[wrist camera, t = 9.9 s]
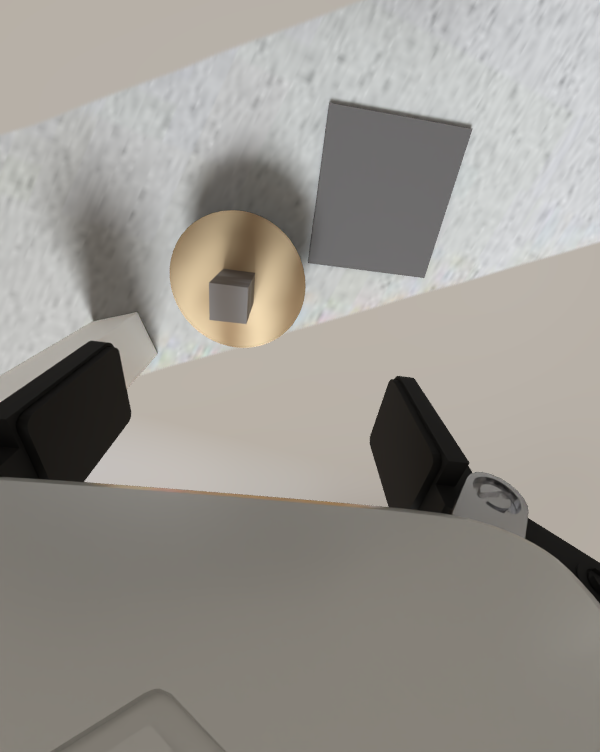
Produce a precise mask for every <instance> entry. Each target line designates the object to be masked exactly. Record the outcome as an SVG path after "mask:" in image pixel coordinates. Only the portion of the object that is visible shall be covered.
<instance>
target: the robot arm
mask: <svg viewBox="0 0 600 752" xmlns="http://www.w3.org/2000/svg"><path fill="white" fill-rule="evenodd" d="M130 417H131V409H130V404H129V399H128V394H127V389H126V383H125V378H124V373H123V368H122V363H121V358H120V353H119V350H118V349H117V348H115V347H114V346H113V344H112V343H109V342H100V341H89V342H87V343H86V344H84V345H83V346H81V347H80V348H78V349H77V350H76V351H74V352H73V353H71V354H70V355H68V356H67V357H65V358H64V359H62V360H61V361H60V362H58V363H57V364H55V365H54V366H52V367H51V368H49V369H48V370H46V371H45V372H44V373H42V374H41V375H39V376H38V377H36V378H35V379H33V380H32V381H30V382H29V383H28V384H26V385H25V386H23V387H22V388H20V389H19V390H17V391H16V392H14V393H13V394H12V395H10V396H9V397H7V398H6V399H4V400H3V401H1V402H0V752H600V563H599V562H598V561H596V560H594V559H593V558H591V557H590V556H588V555H586V554H585V553H583V552H581V551H580V550H578V549H577V548H575V547H574V546H572V545H570V544H569V543H567V542H566V541H564V540H562V539H561V538H559V537H557V536H556V535H554V534H553V533H551V532H550V531H548V530H546V529H545V528H543V527H542V526H540V525H538V524H537V523H535V522H534V521H532V520H530V519H529V518H528V506H527V504H526V502H525V500H524V498H523V497H522V496H521V494H520V493H519V492H518V491H517V490H516V489H515V488H514V487H512V486H511V485H510V484H509V483H507V482H505V481H504V480H502V479H501V478H499V477H496V476H494V475H491V474H488V473H483V472H475V473H472V471H471V470H470V468H469V466H468V465H469V461H468V460H467V458H466V457H465V455H464V454H463V453H462V451H461V449H460V448H459V446H458V445H457V443H456V441H455V440H454V438H453V437H452V435H451V434H450V432H449V431H448V429H447V428H446V426H445V425H444V423H443V422H442V420H441V419H440V417H439V416H438V414H437V413H436V411H435V409H434V408H433V406H432V405H431V403H430V402H429V400H428V399H427V397H426V396H425V394H424V393H423V391H422V390H421V388H420V386H419V385H418V383H417V382H416V380H415V379H414V378H410V377H402V376H397V377H396V378H395V379H394V380H393V379H391V380H390V381H389V383H388V386H387V389H386V392H385V395H384V398H383V401H382V404H381V406H380V409H379V412H378V415H377V418H376V421H375V424H374V427H373V430H372V433H371V436H370V446H371V449H372V453H373V456H374V460H375V463H376V466H377V469H378V473H379V476H380V479H381V483H382V486H383V490H384V493H385V496H386V500H387V503H388V506H389V507H382V506H372V505H371V506H370V505H361V504H350V503H338V502H327V501H314V500H303V499H291V498H279V497H268V496H254V495H243V494H230V493H218V492H206V491H193V490H180V489H167V488H154V487H141V486H128V485H114V484H100V483H87V482H84V480H85V479H86V478H87V477H88V475H89V474H90V473H91V471H92V470H93V469H94V467H95V466H96V465H97V463H98V462H99V461H100V459H101V458H102V457H103V455H104V454H105V453H106V452H107V450H108V449H109V448H110V446H111V445H112V443H113V442H114V441H115V440H116V438H117V437H118V435H119V434H120V433H121V432H122V430H123V429H124V428H125V426H126V425H127V424H128V422H129V420H130Z"/></svg>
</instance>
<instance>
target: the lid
mask: <svg viewBox="0 0 600 752" xmlns="http://www.w3.org/2000/svg"><path fill="white" fill-rule="evenodd" d="M170 282H171V288H172V292H173V295H174V298H175V300H176V303H177V305H178V307H179V309H180V310H181V312H182V314H183V315H184V316H185V318H186V319H187V320H188V321H189V323H190V324H191V325H192V326H193V327H194V328H195V329H197V330H198V331H199V332H200V333H202V334H203V335H205V336H206V337H208V338H210V339H211V340H213V341H216V342H218V343H220V344H224V345H227V346H232V347H240V348H247V347H255V346H261V345H264V344H267V343H269V342H271V341H273V340H275V339H277V338H278V337H280V336H281V335H282V334H284V333H285V332H286V331H287V330H288V329H289V328H290V327H291V326H292V324H293V323H294V321H295V320H296V318H297V317H298V315H299V313H300V310H301V308H302V305H303V301H304V296H305V275H304V269H303V266H302V262H301V259H300V257H299V255H298V252H297V250H296V248H295V247H294V245H293V244H292V242H291V241H290V239H289V238H288V237H287V236H286V234H285V233H284V232H283V231H281V230H280V229H279V228H278V227H277V226H276V225H274V224H273V223H272V222H270V221H268V220H267V219H265V218H263V217H261V216H258V215H256V214H253V213H249V212H245V211H237V210H228V211H219V212H215V213H211V214H209V215H206V216H204V217H202V218H200V219H199V220H197V221H195V222H194V223H193V224H192V225H190V226H189V227H188V228H187V229H186V230H185V232H184V233H183V234H182V235H181V237H180V238H179V240H178V242H177V244H176V246H175V248H174V250H173V254H172V258H171V263H170Z"/></svg>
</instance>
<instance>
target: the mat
mask: <svg viewBox="0 0 600 752" xmlns="http://www.w3.org/2000/svg"><path fill="white" fill-rule="evenodd" d="M471 131H472V129H470V128H465V127H459V126H454V125H448V124H443V123H437V122H432V121H426V120H421V119H416V118H410V117H405V116H399V115H394V114H388V113H383V112H377V111H372V110H366V109H361V108H356V107H350V106H345V105H339V104H334V103H329V109H328V116H327V124H326V131H325V139H324V146H323V154H322V161H321V169H320V176H319V184H318V191H317V199H316V206H315V214H314V221H313V229H312V236H311V244H310V251H309V259H308V263H313V264H320V265H328V266H336V267H344V268H351V269H359V270H367V271H375V272H382V273H390V274H398V275H406V276H413V277H421V278H424V277H425V274H426V271H427V268H428V265H429V261H430V258H431V255H432V252H433V249H434V246H435V243H436V240H437V237H438V234H439V231H440V227H441V224H442V221H443V218H444V215H445V212H446V209H447V206H448V203H449V200H450V196H451V193H452V190H453V187H454V184H455V181H456V178H457V175H458V172H459V169H460V166H461V162H462V159H463V156H464V153H465V150H466V147H467V144H468V141H469V138H470V135H471Z"/></svg>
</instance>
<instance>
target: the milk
mask: <svg viewBox="0 0 600 752" xmlns="http://www.w3.org/2000/svg"><path fill="white" fill-rule="evenodd" d="M89 341H100V342H109V343H112V344H113V346H114V347H115V348H117V349H118V350H119V353H120V358H121V363H122V368H123V373H124V378H125V383H126V389H128V387H129V386H130V385H131V384H132V383H133V382H134V380H135V379H136V378H137V377H138V376H139V375H140V374H141V373H142V372H143V370H144V369H145V368H146V367H147V366H148V365H149V364H150V362H151V361H152V360H153V359H154V358H155V357H156V356H157V352H156V350H155V348H154V346H153V344H152V341H151V339H150V337H149V335H148V333H147V331H146V329H145V327H144V325H143V323H142V321H141V319H140V317H139V315H138V313H137V312H135V313H130V314H125V315H121V316H116V317H111V318H106V319H101V320H97V321H93V322H91V323H89V324H87V325H85V326H84V327H82V328H80V329H79V330H77V331H75V332H74V333H72V334H70V335H69V336H67V337H65V338H63V339H62V340H60V341H58V342H57V343H55V344H53V345H52V346H50V347H48V348H46V349H45V350H43V351H41V352H40V353H38V354H36V355H35V356H33V357H31V358H29V359H28V360H26V361H24V362H23V363H21V364H19V365H18V366H16V367H14V368H12V369H11V370H9V371H7V372H6V373H4V374H2V375H1V376H0V402H1V401H3V400H4V399H6V398H7V397H9V396H10V395H12V394H13V393H14V392H16V391H17V390H19V389H20V388H22V387H23V386H25V385H26V384H28V383H29V382H30V381H32V380H33V379H35V378H36V377H38V376H39V375H41V374H42V373H44V372H45V371H46V370H48V369H49V368H51V367H52V366H54V365H55V364H57V363H58V362H60V361H61V360H62V359H64V358H65V357H67V356H68V355H70V354H71V353H73V352H74V351H76V350H77V349H78V348H80V347H81V346H83V345H84V344H86V343H87V342H89Z"/></svg>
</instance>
